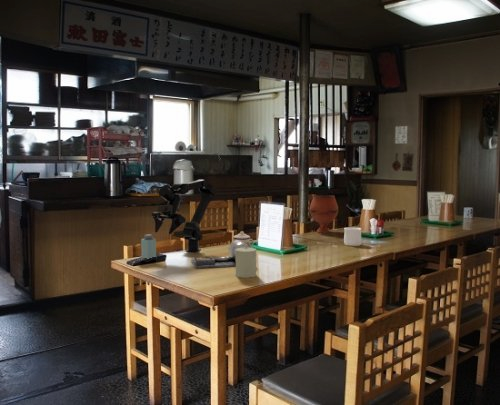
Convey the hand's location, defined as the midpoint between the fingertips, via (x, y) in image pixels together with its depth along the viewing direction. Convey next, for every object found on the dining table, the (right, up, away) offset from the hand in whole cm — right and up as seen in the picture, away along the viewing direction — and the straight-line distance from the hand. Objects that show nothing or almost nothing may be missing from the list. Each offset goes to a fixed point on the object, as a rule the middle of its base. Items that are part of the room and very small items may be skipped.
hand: (162, 232), depth 244 cm
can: (+42, -17, -32) cm, 55 cm away
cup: (+104, -10, +41) cm, 112 cm away
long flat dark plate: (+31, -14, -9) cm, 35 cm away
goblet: (+94, -5, +87) cm, 129 cm away
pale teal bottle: (-6, -14, -3) cm, 15 cm away
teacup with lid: (+41, -12, +16) cm, 46 cm away
